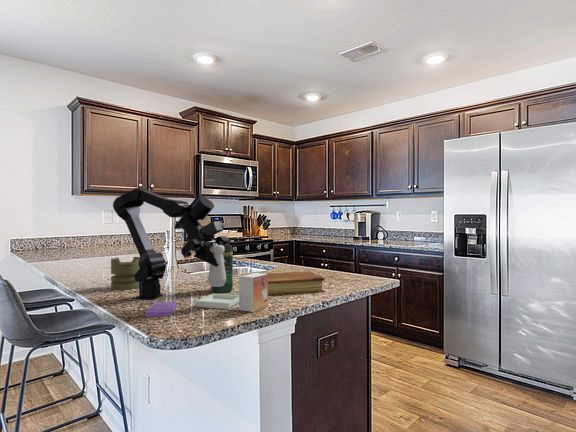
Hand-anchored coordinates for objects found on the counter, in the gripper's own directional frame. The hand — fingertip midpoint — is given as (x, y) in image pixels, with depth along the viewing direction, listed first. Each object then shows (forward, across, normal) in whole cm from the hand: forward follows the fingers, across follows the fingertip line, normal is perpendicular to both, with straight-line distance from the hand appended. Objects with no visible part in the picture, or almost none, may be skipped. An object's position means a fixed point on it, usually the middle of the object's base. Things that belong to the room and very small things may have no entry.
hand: (221, 265), depth 116 cm
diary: (+16, +34, +4) cm, 37 cm away
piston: (-27, +9, +47) cm, 55 cm away
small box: (+17, +2, +1) cm, 17 cm away
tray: (+8, +3, +11) cm, 13 cm away
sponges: (0, -12, +19) cm, 23 cm away
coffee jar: (0, +20, +19) cm, 28 cm away
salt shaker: (+4, 0, +6) cm, 7 cm away
